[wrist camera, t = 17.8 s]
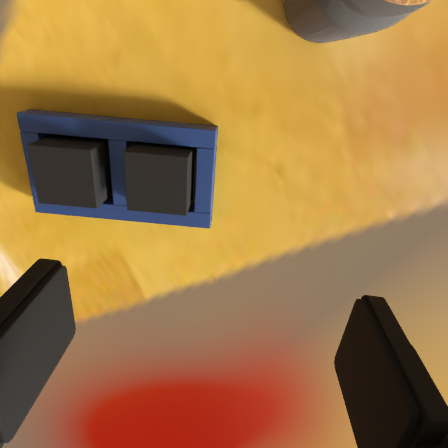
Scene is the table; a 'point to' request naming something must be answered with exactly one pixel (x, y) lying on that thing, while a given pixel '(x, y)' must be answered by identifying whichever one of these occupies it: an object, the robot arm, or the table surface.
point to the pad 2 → (159, 178)
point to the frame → (118, 142)
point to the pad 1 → (71, 170)
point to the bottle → (345, 17)
